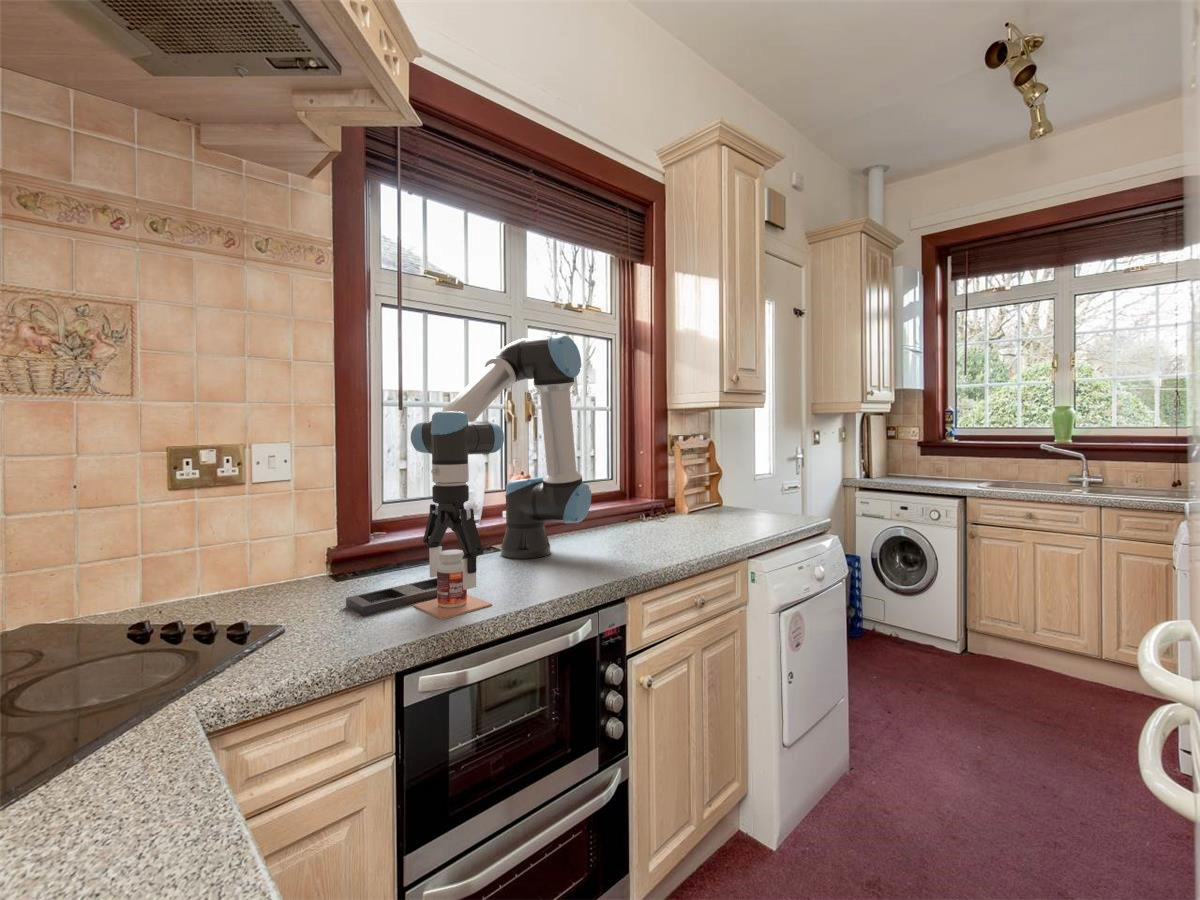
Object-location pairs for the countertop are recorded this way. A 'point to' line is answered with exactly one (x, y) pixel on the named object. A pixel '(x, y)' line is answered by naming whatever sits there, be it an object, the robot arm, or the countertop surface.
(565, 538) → the countertop surface
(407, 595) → the compartment tray
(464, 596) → the pill bottle
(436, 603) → the plate
